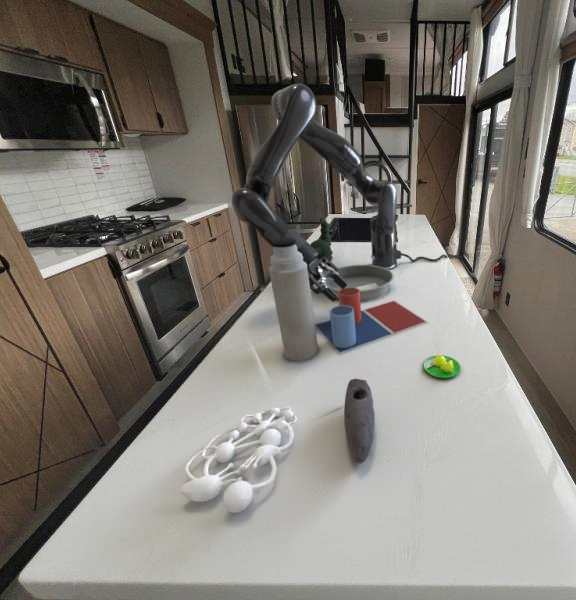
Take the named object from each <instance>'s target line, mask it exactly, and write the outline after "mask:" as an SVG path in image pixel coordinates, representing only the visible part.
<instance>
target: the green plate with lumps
mask: <svg viewBox="0 0 576 600" xmlns="http://www.w3.org/2000/svg"><path fill="white" fill-rule="evenodd" d="M432 360H433V365H431V366H429V367H427V364H428V363H429V361H432ZM423 368H424V370H425V371H426V372H427V373H428V374H430V375H431V376H433V377H436V378H443V379H445V378H452V377H455V376H456V375H457V374H459V372H460V370H461V365H460V363H459V362H458V361H457V360H456V359H454V358H453V357H451V356H447V355H442V354H438V355H432V356H429V357H427V358H426V359H425V360H424V362H423Z"/></svg>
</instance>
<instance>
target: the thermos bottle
mask: <svg viewBox="0 0 576 600" xmlns="http://www.w3.org/2000/svg"><path fill="white" fill-rule="evenodd" d="M272 246H273V247H272ZM272 246H271V247H272V251H273V254H272V255H271V256H270V258H269V259H270V261H269V262H270V264H271V265H270V266H269V267H268V273H269V277H270V283H271V288H272V294H273V300H274V304H275V310H276V314H277V318H278V319H277V321H278V324H279V330H280V336H281V342H282V346H283V352H284V356H285V358H287V359H288V360H291V361H304V360H308V359H310V358H312V357H314V356H315V355H317V353H318V351H319V345H318V344H319V343H318V337H317V331H316V330H317V329H316V323H315V315H314V307H313V301H312V293H311V289H310V284H309V277H308V269H307V264H306V262H304V261H303V256H302V254H301V253H300V252H298V251H297V246H296V239H293V238H281V239H276V240H274V241H272Z"/></svg>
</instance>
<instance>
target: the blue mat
mask: <svg viewBox="0 0 576 600" xmlns="http://www.w3.org/2000/svg"><path fill="white" fill-rule="evenodd" d="M315 327H317V329H318V330H319V331H320V332H321V333H322V334H323V336H324V337H325V338H326V339H327V340H328V341H329V342H330V344H332V345H333V346H334V347H335V349H336V350H337V351H338V352H339V353H343V352H344V351H347V350H350V349H354V348H356V347H359V346H362V345H365V344H368V343H371V342H374V341H375V340H378V339H381V338H385V337H387V336H390V335H392V333H391V331H389V330H388V329H386V328H385V326H384V327H383V325H381V323H379V322H378V321H376V320H375V319H374V318H373V317H371V316H370V315H368V314H367V313H366V312H365V311H364V310H361V322H360V323H358V324H356V325H355V332H356V343H355V344H354V345H353V346H351V347H348V348H338V347H336V346H335V345H334V344H333V336H332V327H331V319H330V320H327V321H324V322H320V323H317V324H315Z"/></svg>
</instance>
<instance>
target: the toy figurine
mask: <svg viewBox="0 0 576 600" xmlns="http://www.w3.org/2000/svg"><path fill="white" fill-rule="evenodd" d="M319 223H320V239H316V240H314V241H311V243H309V244H310V245H311V246H312V247H313V248H314V249H315V250H316V251H317V252H318V256H317V258H318V259H319V260H321V259H322V258H323V257H324V256H325V257H326V258H327V259H328V260H329V261H331V262H332V260H333V255H332V254H334V253H333V250H332V247H331V246H332V242H331V240H330V239H331V238H332V235H330V232H331V229H330V228H329V226H330V223H329V222H328V221H327V220H326V218H325V217H324V216H323V217H320V218H319Z"/></svg>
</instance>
